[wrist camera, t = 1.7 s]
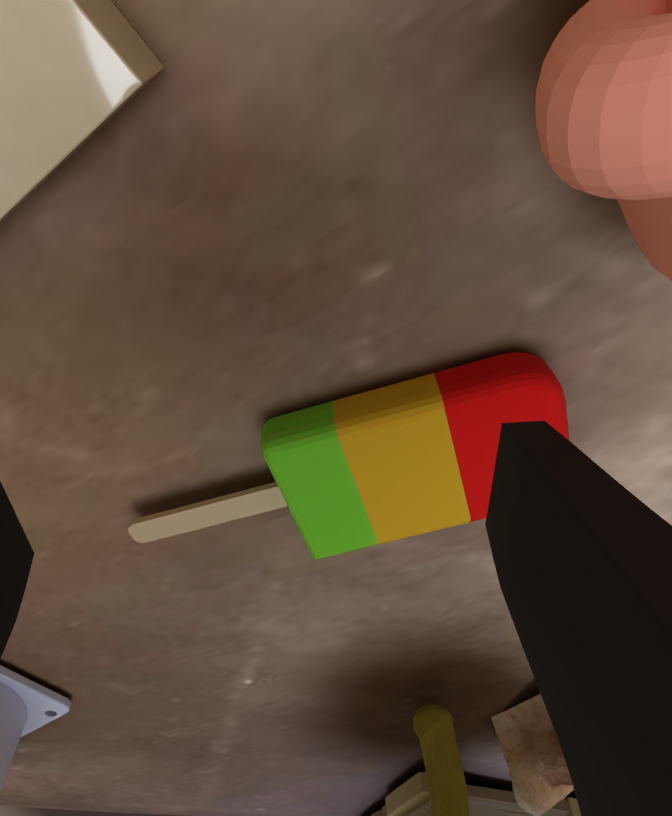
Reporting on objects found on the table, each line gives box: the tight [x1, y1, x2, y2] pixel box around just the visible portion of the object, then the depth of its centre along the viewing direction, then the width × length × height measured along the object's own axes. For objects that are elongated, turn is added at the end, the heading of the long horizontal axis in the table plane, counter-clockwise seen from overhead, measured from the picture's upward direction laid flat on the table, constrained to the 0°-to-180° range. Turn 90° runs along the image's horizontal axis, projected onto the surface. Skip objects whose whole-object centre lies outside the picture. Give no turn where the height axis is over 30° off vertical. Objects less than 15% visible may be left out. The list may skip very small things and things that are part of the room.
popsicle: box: [128, 352, 569, 560], centre depth 20 cm, size 6×15×2 cm, turn 106°
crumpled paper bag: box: [491, 694, 574, 816], centre depth 29 cm, size 6×12×8 cm
